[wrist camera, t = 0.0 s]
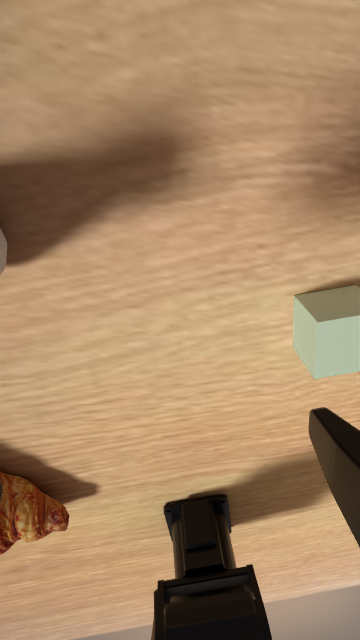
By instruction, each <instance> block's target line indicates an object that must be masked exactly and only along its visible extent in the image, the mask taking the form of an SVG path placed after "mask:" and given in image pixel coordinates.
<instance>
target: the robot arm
mask: <svg viewBox="0 0 360 640" xmlns="http://www.w3.org/2000/svg"><path fill="white" fill-rule="evenodd" d="M309 436H310V439H311V442H312V444H313V447H314V449H315V452H316V454H317V457H318V460H319V462H320V465H321V467H322V470H323V472H324V475H325V478H326V480H327V483H328V485H329V488H330V490H331V492H332V494H333V496H334V498H335V500H336V502H337V504H338V506H339V508H340V510H341V512H342V514H343V516H344V518H345V520H346V522H347V524H348V526H349V527H350V529H351V531H352V533H353V535H354V537H355V539H356V541H357V543H358V545H359V547H360V430H358V429H357V428H355V427H354V426H352V425H351V424H349V423H348V422H346V421H345V420H343V419H342V418H341V417H339V416H338V415H336V414H335V413H333V412H332V411H330V410H329V409H327V408H325V407H322V408H316V409H312V410H311V411H310V416H309ZM2 492H3V485H2V482H1V480H0V503H1V497H2ZM164 514H165V518H166V522H167V525H168V529H169V532H170V536H171V539H172V542H173V551H174V566H175V579H172V580H166V581H164V580H159V581H158V589H157V590H156V591H155V592H154V621H153V629H152V637H151V640H272V637H271V633H270V628H269V624H268V620H267V616H266V612H265V608H264V604H263V601H262V597H261V594H260V590H259V587H258V583H257V580H256V576H255V573H254V569H253V565H252V564H250V565H246V567H240V568H236V563H235V558H234V553H233V548H232V544H231V539H230V533H231V523H230V515H229V506H228V499H227V496H226V495H218V496H212V497H207V498H201V499H195V500H189V501H184V502H178V503H172V504H167V505H165V506H164Z"/></svg>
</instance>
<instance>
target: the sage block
mask: <svg viewBox="0 0 360 640" xmlns="http://www.w3.org/2000/svg"><path fill="white" fill-rule="evenodd" d="M293 348H294V350H295V351H296V353H297V354H298V356H299V357H300V359H301V360H302V362H303V363H304V365H305V366H306V368H307V369H308V371H309V372H310V374H311V375H312V377H313V378H314V379H318V378H324V377H330V376H336V375H342V374H347V373H353V372H359V371H360V287H358V286H357V285H353V286H347V287H341V288H335V289H329V290H323V291H317V292H312V293H306V294H300V295H294V315H293Z"/></svg>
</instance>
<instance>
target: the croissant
mask: <svg viewBox="0 0 360 640" xmlns="http://www.w3.org/2000/svg"><path fill="white" fill-rule="evenodd" d="M0 480H1V482H2V485H3V492H2V497H1V503H0V555H1V554H3V553H5V552H6V551H7V550H8V549H9V548H10V547H11V546H12V545H13V544H14V543H15V542H16V541H17V540H20V539H23V540H24V541H26V542H30V541H35V540H39V539H41V538H43V537H45V536H46V535H48V534H50V533H51V532H53V531H65V530H66V529H67V527H68V523H69V514H68V513H67V511H66V507H65V506H64V505H62V504H61V503H60V502H58V501H56V500H54V499H52V498H51V497H49V496H48V495H47V494H43V493H42V492H41V491H40V490H39V489H38V488H37V487H36V486H35V485H34V484H33V483H31V482H30V481H29V480H27V479H23V478H22V477H21V476H13V475H9V474H5V473H2V472H0Z"/></svg>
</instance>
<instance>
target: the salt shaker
mask: <svg viewBox="0 0 360 640" xmlns="http://www.w3.org/2000/svg"><path fill="white" fill-rule="evenodd" d="M6 258H7V240H6V238H5V236H4V234H3V232H2V230H1V228H0V275H1V273H2V272H3V270H4V269H5V266H6Z"/></svg>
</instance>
